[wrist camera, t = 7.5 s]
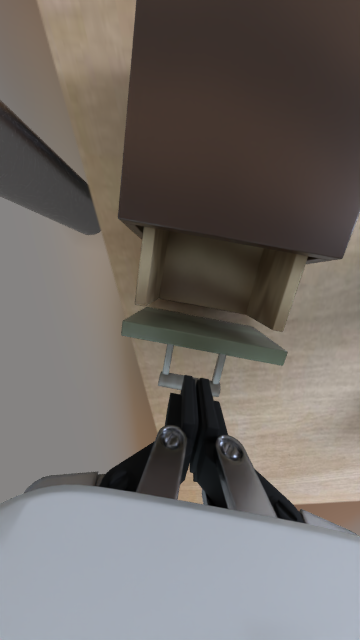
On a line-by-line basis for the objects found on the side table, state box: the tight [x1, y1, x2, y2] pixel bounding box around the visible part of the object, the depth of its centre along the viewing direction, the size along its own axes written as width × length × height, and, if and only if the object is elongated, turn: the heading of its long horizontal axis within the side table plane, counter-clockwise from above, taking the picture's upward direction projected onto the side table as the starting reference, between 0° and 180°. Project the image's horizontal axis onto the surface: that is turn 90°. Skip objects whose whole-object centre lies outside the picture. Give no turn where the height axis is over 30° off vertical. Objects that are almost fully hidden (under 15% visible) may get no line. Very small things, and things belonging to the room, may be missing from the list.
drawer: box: [121, 227, 308, 397], centre depth 15 cm, size 20×12×7 cm, turn 170°
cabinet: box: [118, 0, 360, 264], centre depth 13 cm, size 16×14×9 cm
